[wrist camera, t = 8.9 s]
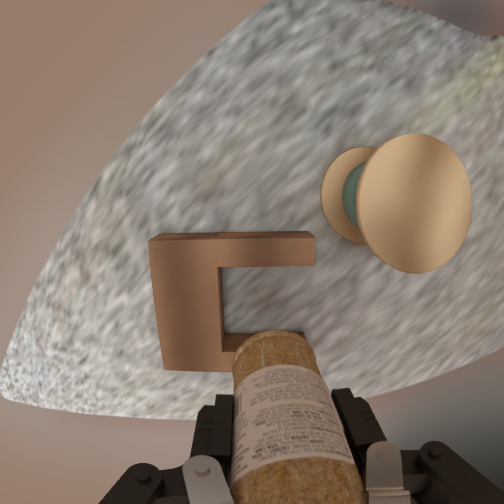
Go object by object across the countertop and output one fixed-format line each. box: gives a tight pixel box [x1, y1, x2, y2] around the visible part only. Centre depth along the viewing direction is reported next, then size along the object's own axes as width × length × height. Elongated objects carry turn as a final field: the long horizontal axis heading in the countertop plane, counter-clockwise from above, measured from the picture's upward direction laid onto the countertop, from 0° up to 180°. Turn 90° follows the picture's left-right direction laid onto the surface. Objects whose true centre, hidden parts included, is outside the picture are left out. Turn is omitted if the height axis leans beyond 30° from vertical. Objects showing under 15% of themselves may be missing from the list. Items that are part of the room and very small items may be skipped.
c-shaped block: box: [148, 231, 316, 372], centre depth 24 cm, size 12×11×3 cm
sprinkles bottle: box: [229, 330, 366, 504], centre depth 9 cm, size 5×5×13 cm
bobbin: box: [320, 134, 472, 274], centre depth 19 cm, size 8×8×9 cm
